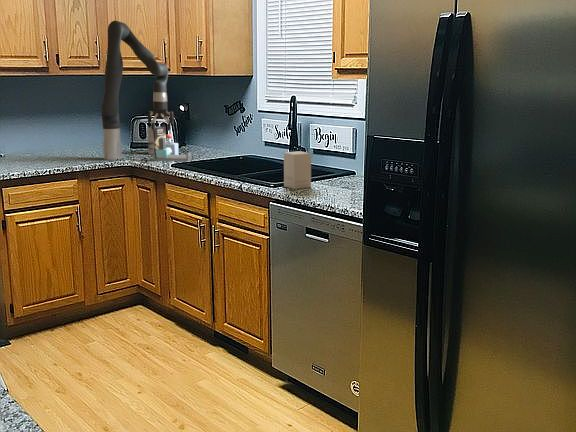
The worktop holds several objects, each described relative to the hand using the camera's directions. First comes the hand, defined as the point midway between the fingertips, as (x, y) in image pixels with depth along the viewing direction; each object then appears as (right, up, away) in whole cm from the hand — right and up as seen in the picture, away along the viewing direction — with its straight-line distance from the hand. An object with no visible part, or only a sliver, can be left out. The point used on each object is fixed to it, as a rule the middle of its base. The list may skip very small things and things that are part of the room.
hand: (161, 130), depth 351 cm
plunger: (+2, -6, +13) cm, 15 cm away
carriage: (0, -14, +4) cm, 15 cm away
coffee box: (-8, -10, +29) cm, 32 cm away
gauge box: (+2, -14, +15) cm, 20 cm away
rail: (+6, -16, +4) cm, 18 cm away
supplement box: (+74, -35, -74) cm, 110 cm away
